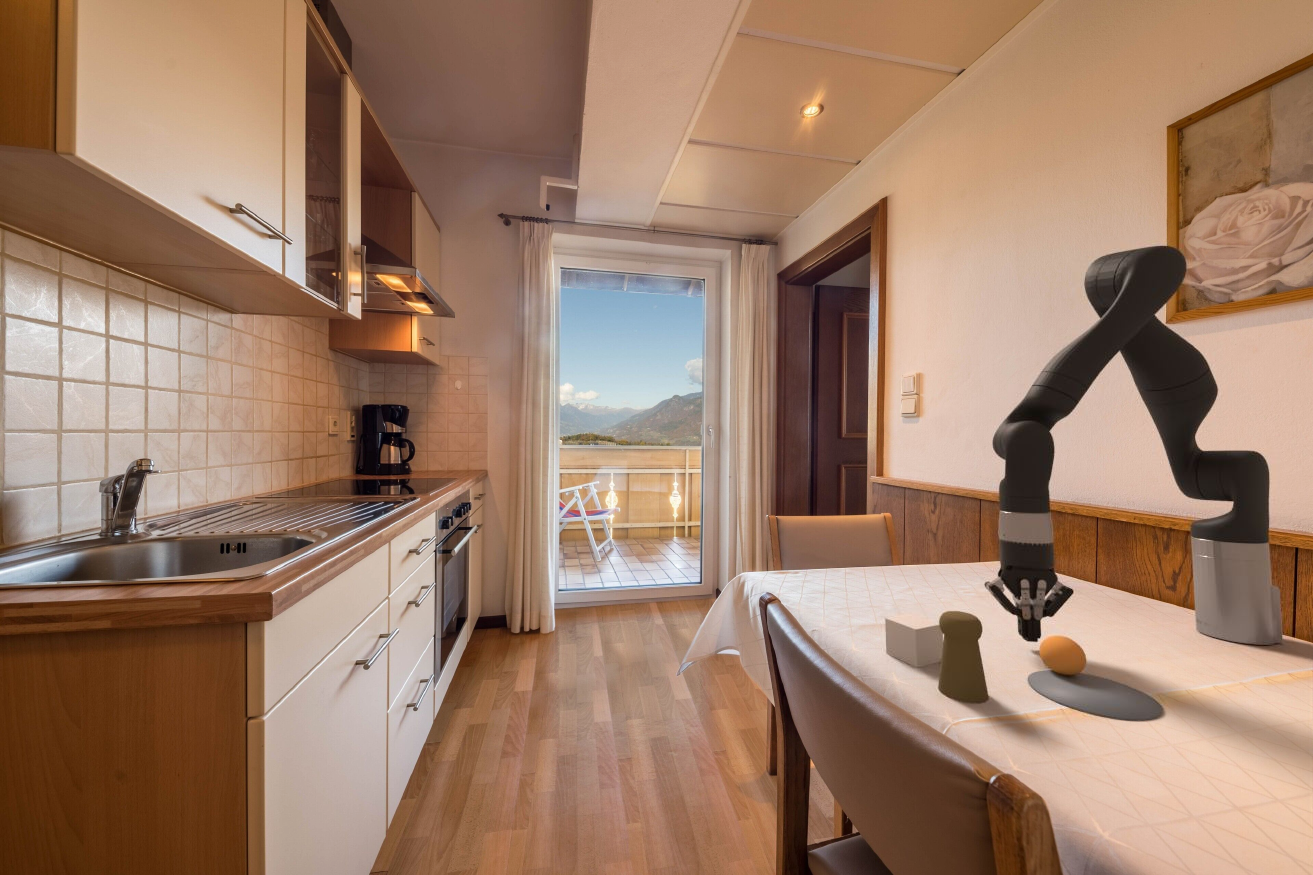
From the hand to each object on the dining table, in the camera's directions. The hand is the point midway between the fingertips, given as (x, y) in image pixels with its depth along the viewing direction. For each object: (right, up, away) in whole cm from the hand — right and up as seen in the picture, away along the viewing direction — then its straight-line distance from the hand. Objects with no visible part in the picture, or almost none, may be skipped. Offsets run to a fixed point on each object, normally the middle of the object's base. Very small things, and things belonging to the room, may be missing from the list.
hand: (1029, 639), depth 84 cm
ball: (-2, +2, -9) cm, 10 cm away
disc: (-3, -1, -16) cm, 16 cm away
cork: (-21, -1, -15) cm, 26 cm away
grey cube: (-21, -2, -3) cm, 21 cm away
